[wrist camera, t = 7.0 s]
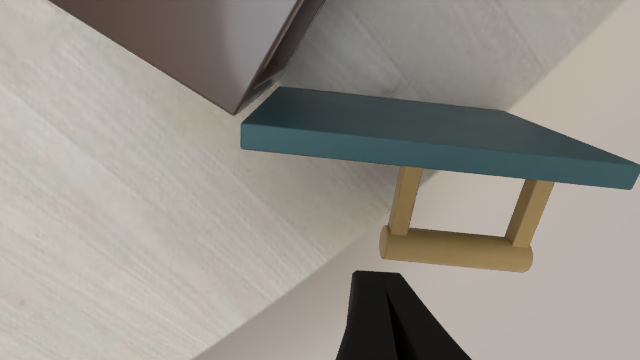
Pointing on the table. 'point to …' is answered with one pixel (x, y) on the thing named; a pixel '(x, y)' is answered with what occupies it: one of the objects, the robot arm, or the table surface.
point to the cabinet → (206, 40)
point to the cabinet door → (436, 163)
